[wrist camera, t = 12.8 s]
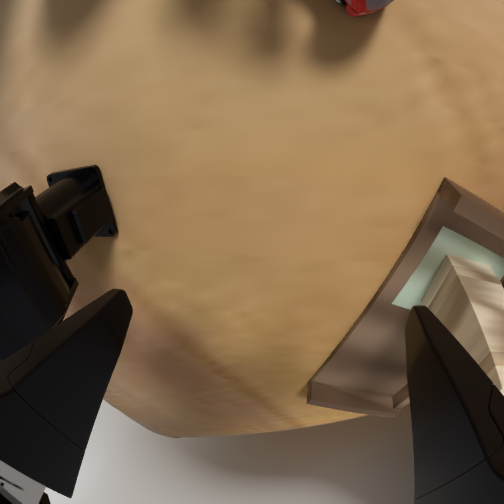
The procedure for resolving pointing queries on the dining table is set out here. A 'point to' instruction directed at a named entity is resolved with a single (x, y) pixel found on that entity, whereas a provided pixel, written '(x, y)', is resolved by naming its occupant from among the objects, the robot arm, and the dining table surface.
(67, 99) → the dining table surface
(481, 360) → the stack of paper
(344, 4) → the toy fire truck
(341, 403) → the bay
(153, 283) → the dining table surface
